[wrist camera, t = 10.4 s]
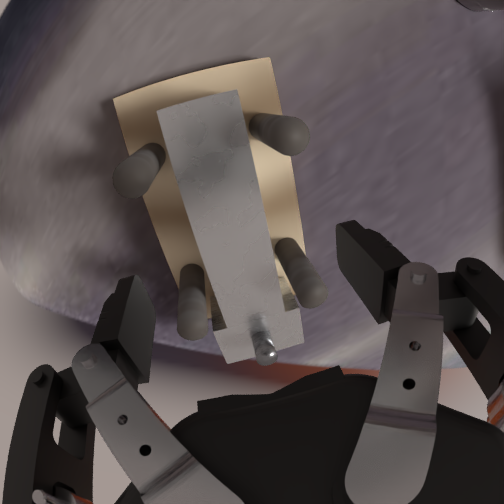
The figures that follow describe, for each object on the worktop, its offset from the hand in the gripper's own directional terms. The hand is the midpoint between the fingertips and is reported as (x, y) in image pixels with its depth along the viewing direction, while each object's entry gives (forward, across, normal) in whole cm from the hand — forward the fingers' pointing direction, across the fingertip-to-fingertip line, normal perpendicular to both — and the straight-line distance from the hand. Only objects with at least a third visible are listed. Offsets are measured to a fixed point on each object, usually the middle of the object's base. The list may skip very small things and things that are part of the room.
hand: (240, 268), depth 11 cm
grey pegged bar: (+9, 0, +2) cm, 9 cm away
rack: (+10, 0, +1) cm, 10 cm away
